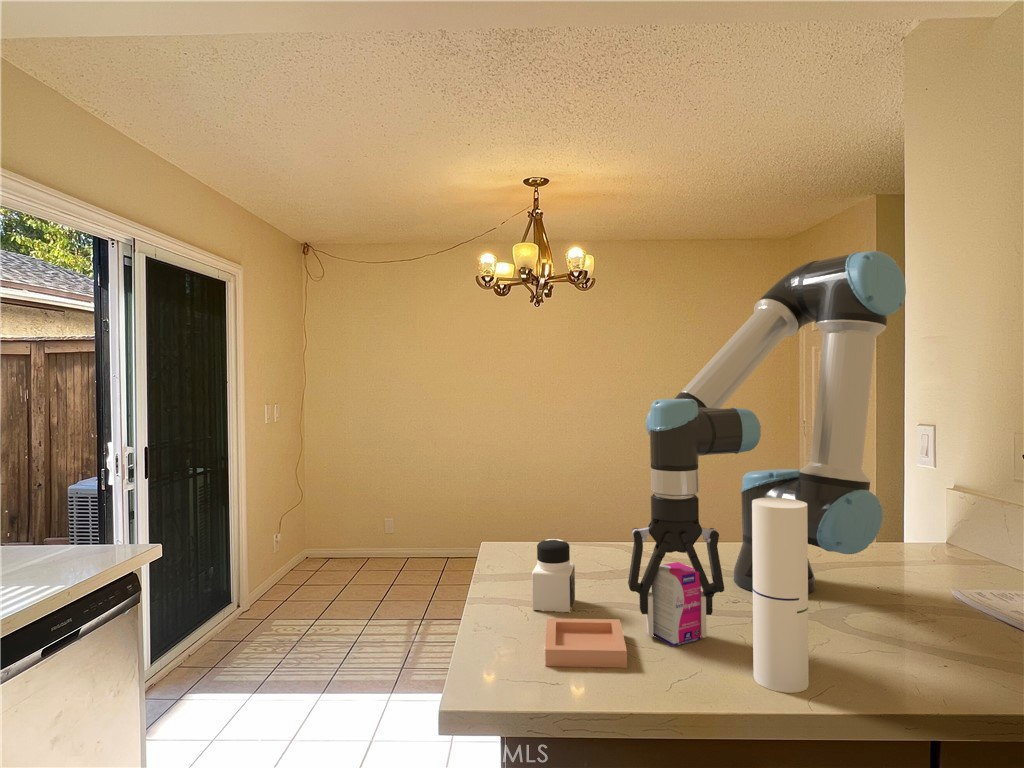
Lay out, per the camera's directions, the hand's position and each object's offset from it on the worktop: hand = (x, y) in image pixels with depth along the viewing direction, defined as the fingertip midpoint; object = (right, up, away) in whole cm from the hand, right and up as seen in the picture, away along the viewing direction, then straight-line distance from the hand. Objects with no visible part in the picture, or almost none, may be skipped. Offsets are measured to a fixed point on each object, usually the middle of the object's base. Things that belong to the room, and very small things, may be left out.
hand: (675, 633), depth 106 cm
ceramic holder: (-15, -1, -4) cm, 16 cm away
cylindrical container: (+11, -1, -15) cm, 18 cm away
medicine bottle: (-19, -1, +15) cm, 24 cm away
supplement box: (0, -1, 0) cm, 1 cm away
